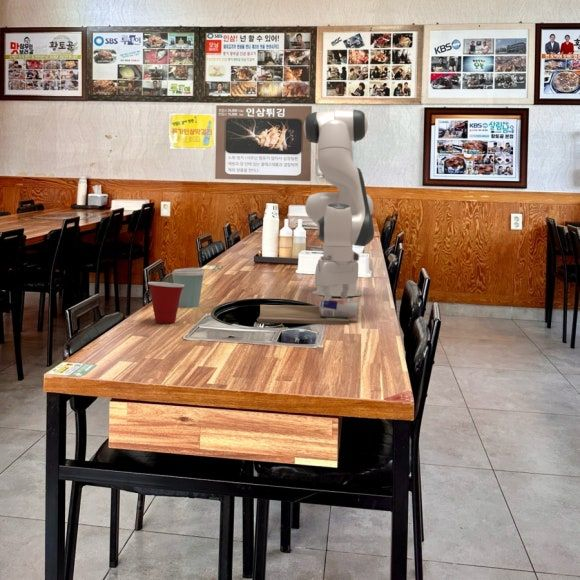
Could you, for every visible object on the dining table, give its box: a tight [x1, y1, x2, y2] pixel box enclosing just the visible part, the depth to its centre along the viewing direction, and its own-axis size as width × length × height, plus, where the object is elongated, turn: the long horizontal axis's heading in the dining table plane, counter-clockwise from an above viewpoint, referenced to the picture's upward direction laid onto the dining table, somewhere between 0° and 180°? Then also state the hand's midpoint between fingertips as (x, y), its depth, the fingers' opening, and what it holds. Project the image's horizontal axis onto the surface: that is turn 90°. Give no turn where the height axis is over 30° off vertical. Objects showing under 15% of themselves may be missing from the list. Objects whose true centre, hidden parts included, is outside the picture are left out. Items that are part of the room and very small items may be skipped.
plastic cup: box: [147, 281, 184, 324], centre depth 197 cm, size 11×11×12 cm
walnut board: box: [257, 304, 351, 325], centre depth 207 cm, size 12×28×4 cm, turn 89°
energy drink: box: [318, 299, 359, 319], centre depth 207 cm, size 5×5×12 cm
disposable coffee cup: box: [171, 267, 205, 309], centre depth 220 cm, size 11×11×15 cm
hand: (336, 299), depth 207 cm, fingers open, 8 cm apart
